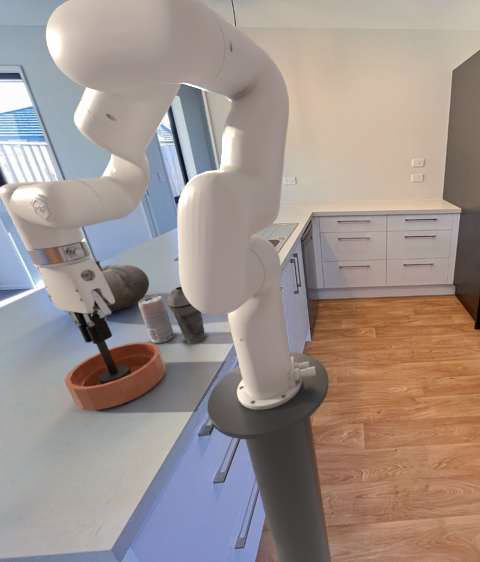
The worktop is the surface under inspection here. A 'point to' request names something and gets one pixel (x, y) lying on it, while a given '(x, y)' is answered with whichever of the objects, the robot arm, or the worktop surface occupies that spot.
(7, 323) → the worktop surface
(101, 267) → the gourd
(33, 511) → the worktop surface
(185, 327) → the beverage cup
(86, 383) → the bowl
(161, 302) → the energy drink
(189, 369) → the worktop surface
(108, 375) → the grey disc stick
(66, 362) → the worktop surface
